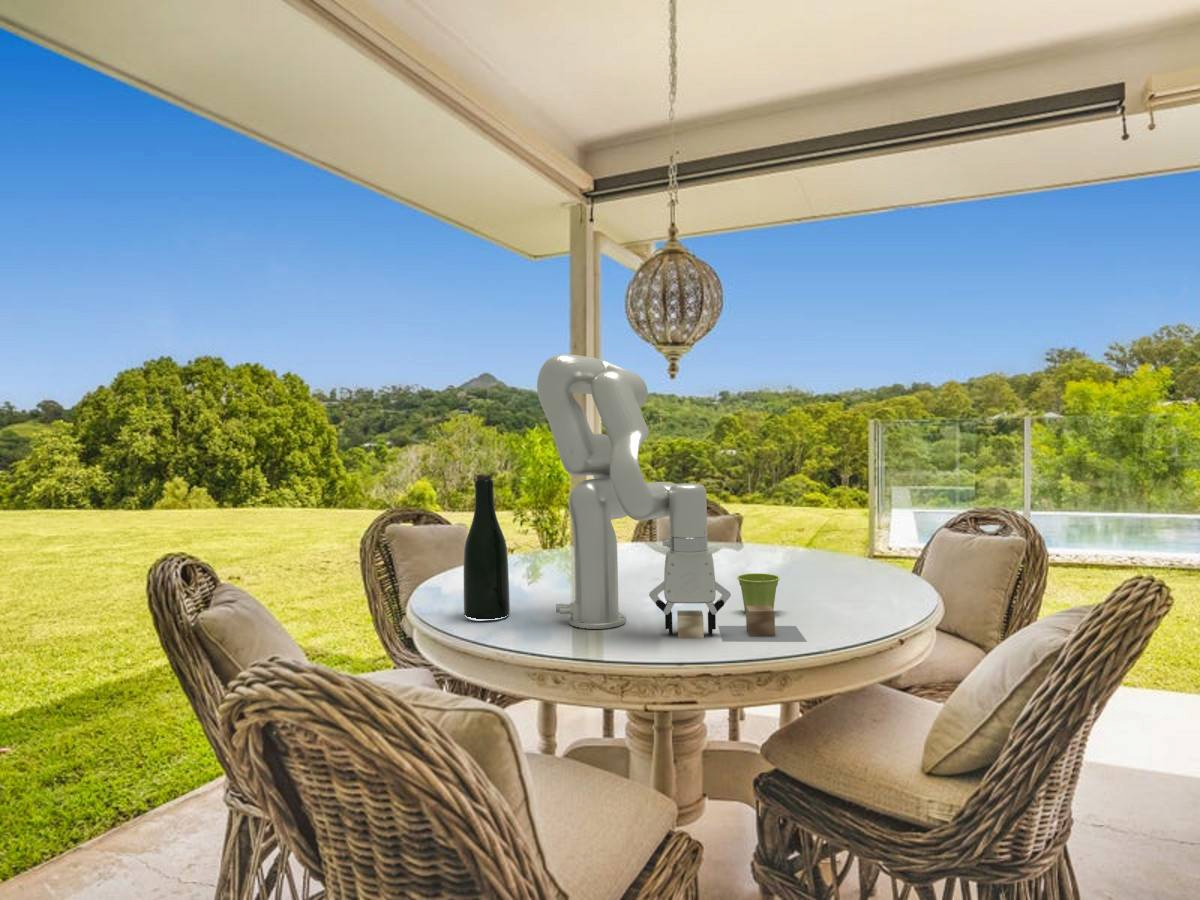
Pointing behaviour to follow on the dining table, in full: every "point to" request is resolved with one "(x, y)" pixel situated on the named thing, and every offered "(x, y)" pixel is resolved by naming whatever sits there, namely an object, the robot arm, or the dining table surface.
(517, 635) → the dining table surface
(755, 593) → the plant pot
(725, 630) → the mat
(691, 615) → the maple block
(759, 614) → the walnut block
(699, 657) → the dining table surface
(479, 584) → the dark wine bottle
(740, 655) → the dining table surface
